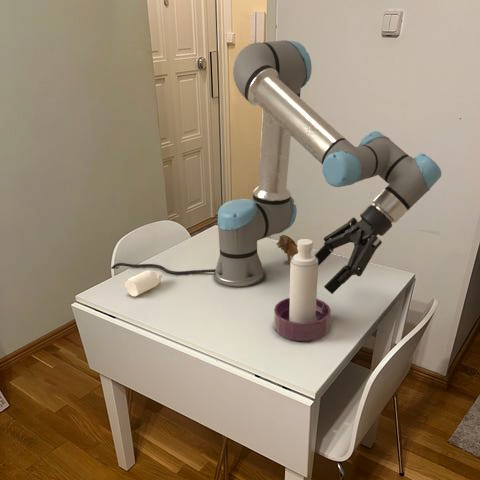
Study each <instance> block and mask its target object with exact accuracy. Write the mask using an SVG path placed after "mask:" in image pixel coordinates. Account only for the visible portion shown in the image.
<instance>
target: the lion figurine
mask: <svg viewBox="0 0 480 480" xmlns="http://www.w3.org/2000/svg"><path fill="white" fill-rule="evenodd" d="M278 238H279V239H278V242H276V246H277V248H278V249H281V250H282V251H283V253H284V254H286V256H287V260H286V261H285V263H286V264H287V265H288V264H291V260H292V259H291V258H292V257H293V256H294V255H295V254H298V250H297V243H296V242H295V240H294V239H292V238H291V237H290V236H288V235H286V234H282V235H280V236H279V237H278Z"/></svg>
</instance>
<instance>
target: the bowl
mask: <svg viewBox="0 0 480 480" xmlns="http://www.w3.org/2000/svg"><path fill="white" fill-rule="evenodd" d="M289 309H290V297H286V298H284V299H282V300H280V301H279V302H277V303H276V304H275V306H274V309H273V326H274V330H275V331H276V332H277V333H278V335H280V336H282V337H283V338H285V339H289V340H292V341H299V342H307V341H308V342H309V341H314V340H319V339H320V338H321V339H322V337H324V336H326V335H327V334H328V332H330V326H331V313H332V310H331V308H330V305H329V304H328V303H326V302H325V301H323V300H320V299H319V298H316V316H315V322H311V323H296V322H292V321H289Z"/></svg>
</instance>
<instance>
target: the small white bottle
mask: <svg viewBox="0 0 480 480" xmlns="http://www.w3.org/2000/svg"><path fill="white" fill-rule="evenodd" d="M162 274H163V272H162V271H155V270H150V269H147V270H144V271H142V272H141V273H138V274H136V275H133V276H132V277H130V278H128V279H127V280H125V281H124V286H125V289H126V291H127V292H128V294H129V295H130V296H132V297H138V296H140V295H142V294H144V293H145V292H147V291H149V290H151V289H153V288H155V287H156V286H157V285H158V284H159V283H160V282H161V281H162Z"/></svg>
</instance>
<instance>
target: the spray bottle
mask: <svg viewBox="0 0 480 480" xmlns="http://www.w3.org/2000/svg"><path fill="white" fill-rule="evenodd" d="M296 245H297V250H298V254H295V255H294V256H293V257H292V258H291V257H290V259H292V260H291V262H290V263H289V264H290V269H289V270H290V271H289V298H290V309H289V321H292V322H296V323H311V322H315V316H316V299H317V296H318V278H319V277H318V275H319V266H318V258H317V257H315V254H313V253H312V251H313V245H314V243H313V240H311V239H309V238H300V239H298V240H297V243H296Z"/></svg>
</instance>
